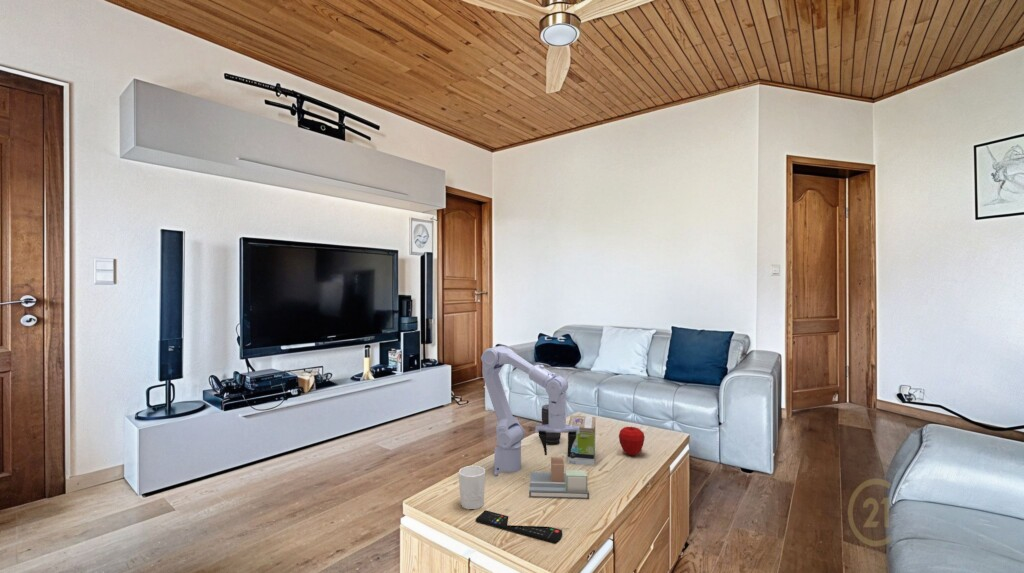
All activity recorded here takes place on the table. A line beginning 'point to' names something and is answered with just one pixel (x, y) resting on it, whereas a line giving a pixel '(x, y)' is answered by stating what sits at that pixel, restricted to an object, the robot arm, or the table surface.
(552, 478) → the terracotta carton
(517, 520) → the table surface
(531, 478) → the shelf board
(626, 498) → the table surface
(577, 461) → the tea box
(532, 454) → the table surface
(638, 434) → the apple
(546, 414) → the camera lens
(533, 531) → the remote control
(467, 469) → the white cup
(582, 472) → the sage carton
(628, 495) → the table surface
